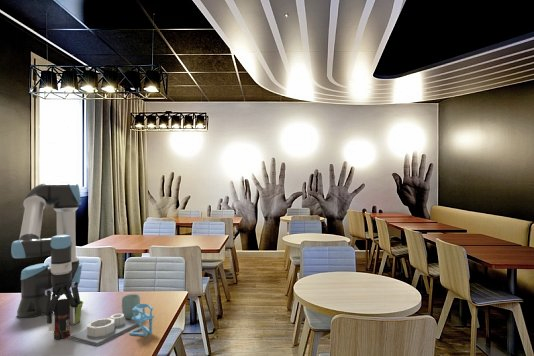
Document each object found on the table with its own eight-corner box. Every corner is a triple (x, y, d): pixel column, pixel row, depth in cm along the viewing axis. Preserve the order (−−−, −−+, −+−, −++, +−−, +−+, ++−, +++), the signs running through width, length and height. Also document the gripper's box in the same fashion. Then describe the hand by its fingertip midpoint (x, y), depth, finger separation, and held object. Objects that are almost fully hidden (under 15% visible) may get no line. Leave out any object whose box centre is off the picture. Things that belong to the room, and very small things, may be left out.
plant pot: (59, 328, 157) (59, 308, 157) (61, 321, 166) (60, 302, 166) (83, 324, 162) (83, 305, 162) (83, 317, 170) (83, 299, 170)
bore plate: (70, 338, 146) (70, 327, 146) (113, 319, 166) (113, 309, 166) (97, 345, 140) (97, 334, 140) (139, 325, 160) (139, 314, 160)
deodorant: (58, 334, 151) (57, 299, 151) (72, 333, 152) (72, 298, 152) (51, 340, 145) (50, 303, 145) (66, 339, 146) (65, 303, 146)
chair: (141, 339, 145) (141, 309, 145) (128, 334, 150) (128, 306, 150) (156, 332, 152) (156, 304, 152) (143, 328, 156) (143, 300, 156)
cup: (133, 321, 164) (133, 299, 164) (118, 320, 165) (118, 299, 165) (143, 315, 171) (142, 294, 171) (128, 314, 173) (128, 293, 173)
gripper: (42, 279, 138) (42, 338, 137) (89, 267, 157) (90, 318, 156) (30, 277, 141) (30, 335, 140) (78, 266, 160) (78, 316, 160)
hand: (62, 326), depth 148 cm, fingers open, 8 cm apart
